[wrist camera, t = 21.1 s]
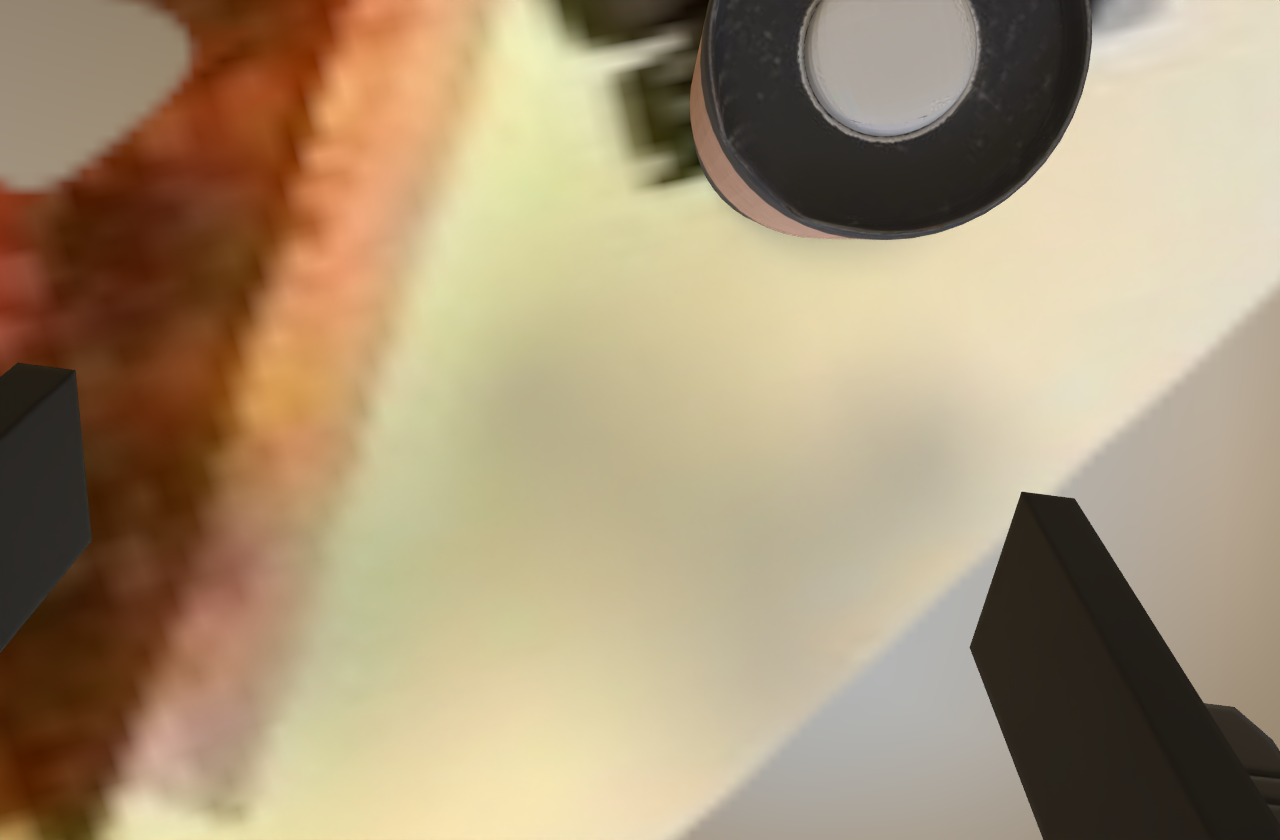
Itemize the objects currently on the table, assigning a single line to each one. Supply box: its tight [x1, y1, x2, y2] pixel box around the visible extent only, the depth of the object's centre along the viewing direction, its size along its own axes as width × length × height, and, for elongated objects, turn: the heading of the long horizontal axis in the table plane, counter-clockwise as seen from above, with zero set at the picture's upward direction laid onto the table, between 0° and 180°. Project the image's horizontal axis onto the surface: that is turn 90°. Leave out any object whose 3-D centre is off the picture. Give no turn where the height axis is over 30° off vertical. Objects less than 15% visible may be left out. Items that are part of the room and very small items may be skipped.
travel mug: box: [690, 0, 1092, 240], centre depth 32 cm, size 8×8×20 cm
